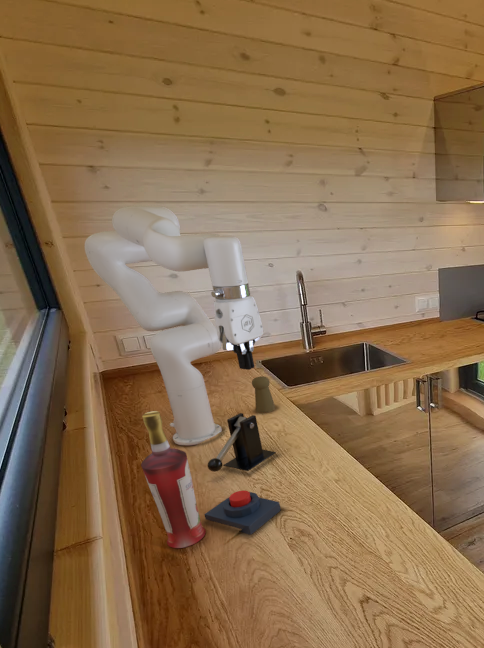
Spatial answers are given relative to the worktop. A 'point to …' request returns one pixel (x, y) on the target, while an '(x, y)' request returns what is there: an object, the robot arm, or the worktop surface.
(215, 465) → the switch lever
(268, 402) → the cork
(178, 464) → the liquor
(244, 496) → the switch button
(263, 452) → the switch bracket
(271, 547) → the worktop surface
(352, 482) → the worktop surface
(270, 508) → the switch box
